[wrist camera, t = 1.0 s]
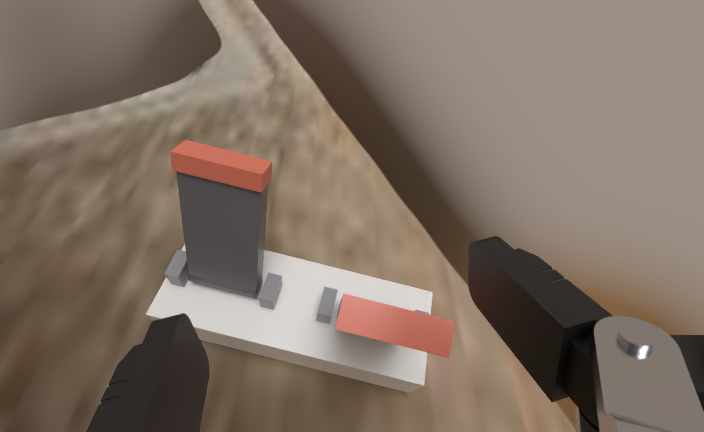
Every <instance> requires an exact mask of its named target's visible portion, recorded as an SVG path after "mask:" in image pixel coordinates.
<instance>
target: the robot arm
mask: <svg viewBox="0 0 704 432" xmlns="http://www.w3.org/2000/svg"><path fill="white" fill-rule="evenodd" d="M468 270H469V272H468V275H469V277H468V278H469V279H468V282H469V283H468V285H469V291H470V295H471V297H472V300H473V302H474V303H475V305H476V306H477V308H478V309H479V310H480V311H481V313H482V314H483V315H484V317H485V318H486V319H487V320H488V322H489V323H490V324H491V325H492V327H493V328H494V329H495V331H496V332H497V333H498V334H499V336H500V337H501V338H502V339H503V341H504V342H505V343H506V345H507V346H508V347H509V348H510V350H511V351H512V352H513V353H514V355H515V356H516V357H517V359H518V360H519V361H520V362H521V364H522V365H523V366H524V367H525V369H526V370H527V371H528V372H529V374H530V375H531V376H532V378H533V379H534V380H535V381H536V383H537V384H538V385H539V386H540V388H541V389H542V390H543V392H544V393H545V394H546V395H547V397H548V398H549V399H550V400H551V402H554V401H557V400H560V399H564V398H567V397H570V398H571V400H572V401H573V402H574V403H575V404H576V406H577V407H576V412H575V417H576V432H704V335H668V334H667V333H666V332H665V331H663V330H662V329H660V328H658V327H657V326H655V325H652V324H651V323H648V322H646V321H643V320H640V319H637V318H632V317H625V316H612V315H611V314H610V313H609V312H607V311H606V310H605V309H603V308H602V307H601V306H600V305H599V304H597V303H596V302H595V301H593V300H592V299H591V298H590V297H588V296H587V295H586V294H585V293H583V292H582V291H581V290H580V289H578V288H577V287H576V286H575V285H573V284H572V283H571V282H570V281H568V280H567V279H566V280H565V279H564V277H563V276H562V275H561V274H560V273H558V272H557V271H556V270H552V267H551V266H549V265H548V264H547V263H546V262H544V261H543V260H542V259H540V258H539V257H538V256H536V255H534V254H531V253H529V252H527V251H524V250H522V249H515V250H514V249H513V248H512V247H510V246H509V245H508V244H507V243H506V242H504V241H503V240H502V239H501V238H500V237H497V236H495V237H490V238H487V239H482V240H478V241H475V242H471V243H470V245H469V269H468ZM208 380H209V362H208V357H207V354H206V352H205V350H204V348H203V345H202V343H201V341H200V339H199V337H198V335H197V333H196V331H195V329H194V327H193V325H192V323H191V320H190V318H189V317H188V315H186V314H185V313H182V314H178V315H174V316H170V317H166V318H162V319H158V320H154V321H153V322H152V323H151V325H150V327H149V329H148V332H147V334H146V336H145V339H144V341H143V343H142V344H140V345H136V346H134V347H133V348H132V349H131V350H130V351H129V352H128V354H127V355H126V356H125V357H124V358H123V359H122V360H121V362H120V363H119V364H118V365H117V367H116V370H115V372H114V374H113V376H112V378H111V380H110V382H109V387H108V388H107V389H106V391H105V393H104V395H103V397H102V399H101V404H100V405H99V406H98V408H97V410H96V412H95V414H94V416H93V418H92V420H91V423H90V425H89V427H88V429H87V431H86V432H199V429H200V424H201V418H202V413H203V407H204V402H205V396H206V391H207V385H208Z"/></svg>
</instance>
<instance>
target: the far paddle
mask: <svg viewBox="0 0 704 432" xmlns="http://www.w3.org/2000/svg"><path fill="white" fill-rule="evenodd" d="M170 153H171V162H172V170H173V171H177V180H178V189H179V197H180V206H181V215H182V223H183V232H184V240H185V249H186V258H187V266H188V280H189V281H191V282H195V283H199V284H203V285H207V286H211V287H215V288H219V289H223V290H227V291H231V292H235V293H239V294H243V295H247V296H251V297H255V298H257V297H258V295H259V293H260V291H261V287H262V282H263V280H262V276H263V260H264V243H265V227H266V211H267V194H268V183H269V181H270V180H271V173H272V161H269V160H265V159H261V158H257V157H253V156H249V155H245V154H241V153H237V152H233V151H229V150H225V149H221V148H217V147H213V146H209V145H205V144H201V143H197V142H193V141H189V140H185V141H183V142H182V143H181V144H179V145H178V146H177V147H175V148H174V149H173V150H171V151H170Z"/></svg>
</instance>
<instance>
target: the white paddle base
mask: <svg viewBox="0 0 704 432" xmlns="http://www.w3.org/2000/svg"><path fill="white" fill-rule="evenodd" d="M164 275H165V276H166V279H165V281H164V282H163V284H162V286H161V288H160V290H159V291H158V293H157V295H156V297H155V299H154V300H153V302H152V304H151V306H150V308H149V309H148V311H147V313H146V315H147V316H148V317H149V318H150V319H151V320H152V321H154V320H158V319H162V318H166V317H170V316H174V315H178V314H182V313H185V314H186V315H188V317H189V318H190V320H191V323H192V325H193V327H194V329H195V331H196V333H197V335H198V337H199V339H200V340H203V341H206V342H210V343H214V344H218V345H222V346H226V347H230V348H234V349H238V350H242V351H246V352H250V353H254V354H257V355H261V356H265V357H269V358H273V359H277V360H281V361H285V362H289V363H293V364H297V365H301V366H304V367H308V368H312V369H316V370H320V371H324V372H328V373H332V374H336V375H340V376H344V377H348V378H352V379H355V380H359V381H363V382H367V383H371V384H375V385H379V386H383V387H387V388H391V389H395V390H399V391H403V392H406V393H411V392H413V391H415V390H416V389H418V388H420V387H422V386H424V382H425V371H426V360H427V352H423V351H419V350H415V349H411V348H407V347H403V346H400V345H396V344H392V343H388V342H384V341H380V340H376V339H372V338H368V337H364V336H360V335H356V334H352V333H348V332H344V331H340V330H336V329H335V325H336V321H337V313H338V309H339V305H340V301H341V299H342V297H343V294H348V295H352V296H356V297H360V298H364V299H368V300H372V301H376V302H380V303H384V304H388V305H392V306H396V307H400V308H403V309H407V310H411V311H415V312H419V313H423V314H427V315H430V314H431V303H432V292H430V291H426V290H422V289H418V288H414V287H410V286H406V285H402V284H398V283H394V282H390V281H386V280H382V279H378V278H374V277H370V276H366V275H362V274H358V273H354V272H350V271H346V270H342V269H338V268H334V267H330V266H326V265H322V264H318V263H314V262H310V261H306V260H302V259H298V258H294V257H290V256H286V255H282V254H279V253H275V252H271V251H267V250H264V260H263V276H262V280H263V282H262V287H261V291H260V293H259V295H258V297H257V298H255V297H251V296H247V295H243V294H239V293H235V292H231V291H227V290H223V289H219V288H215V287H211V286H207V285H203V284H199V283H195V282H191V281H189V280H188V266H187V258H186V249H185V245H184V246H183V248H182V250H177V252H176V253H175V255H174V257H173V259H172V261H171V262H170V264H169V266H168V268H167V270H166V271H165V273H164Z"/></svg>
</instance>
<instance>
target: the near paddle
mask: <svg viewBox="0 0 704 432" xmlns="http://www.w3.org/2000/svg"><path fill="white" fill-rule="evenodd" d="M454 323H455V321H451V320H447V319H443V318H439V317H435V316H431V315H427V314H423V313H419V312H415V311H411V310H407V309H403V308H400V307H396V306H392V305H388V304H384V303H380V302H376V301H372V300H368V299H364V298H360V297H356V296H352V295H348V294H343V297H342V299H341V301H340V305H339V309H338V313H337V321H336V325H335V329H336V330H340V331H344V332H348V333H352V334H356V335H360V336H364V337H368V338H372V339H376V340H380V341H384V342H388V343H392V344H396V345H400V346H403V347H407V348H411V349H415V350H419V351H423V352H427V353H431V354H435V355H439V356H443V357H447V358H449V353H450V347H451V341H452V335H453V329H454Z"/></svg>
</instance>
